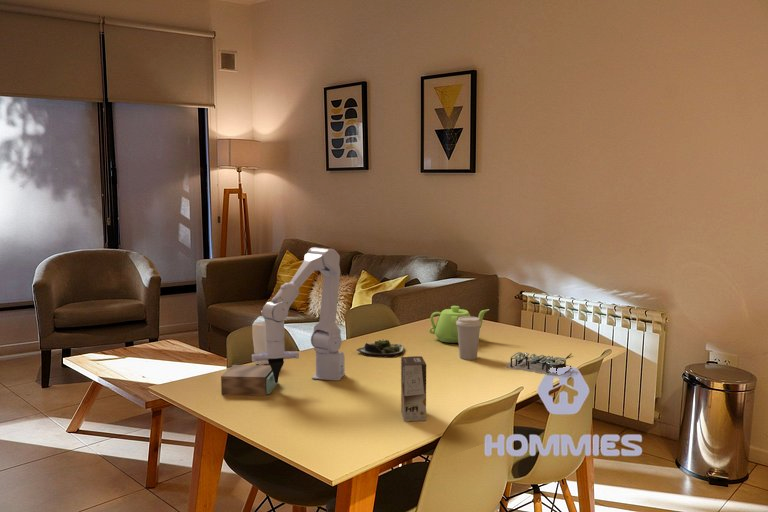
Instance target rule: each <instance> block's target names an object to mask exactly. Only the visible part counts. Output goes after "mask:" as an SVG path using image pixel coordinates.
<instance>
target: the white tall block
mask: <svg viewBox="0 0 768 512" xmlns="http://www.w3.org/2000/svg"><path fill="white" fill-rule="evenodd" d="M251 325H252V328H251V330H252V331H251V332H252V335H251V336H252V343H253V354H260V353H266V324H265V321H255V322H253V323H252V324H251ZM257 364H259V365H264V364H267V365H270V364H269V362H268V360H265V361H256V362H254V365H257Z"/></svg>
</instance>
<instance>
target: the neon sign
mask: <svg viewBox="0 0 768 512" xmlns="http://www.w3.org/2000/svg"><path fill="white" fill-rule="evenodd" d="M572 354H573V353H569V355H567V356H566V357H565V358H564V357H559V356H556V357H554V356H553V355H552V356H550V355H547V356H546V355H544V354H541V355H537V354H536V353H531V355H530V353H528V352H521V351H519V352H515V353H514V354H513V355H511V356H510V362H509V363H507V364H506V365H505V367H506V368H507V369H509V370H516V371H517V370H519V371H521V370H522V371H524V372H529V373H537V374H543V375H547V376H559V375H558V374H557V372H556V373H551V372H550V371H549V370H550V368H552V367H553V368H556V371H557V369H558V368H563V367H566V366H570V365H569V364H568V365H567V364H566V363H567V359H568V358H570V356H571V355H572Z"/></svg>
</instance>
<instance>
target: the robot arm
mask: <svg viewBox="0 0 768 512" xmlns="http://www.w3.org/2000/svg"><path fill="white" fill-rule="evenodd" d="M340 260H341V256H340V254H339V253H338V252H337V250H335V249H334V248H322V247H316V246H313V247H311V248H309V249H308V251H307V253H305V254H304V257H303V262H302V263H301V264H300V266H299V268H298V269H297V270H296V272H295V274H294V275H293V277H292V278H291V279H290V281H289V282H285V283H283V284H281V285H280V288H279V290H278V291H277V293H276V294H275V296H272V298H271V301H268V302H266V303H265V304H264V305H263V306H262V310H260V312H261V316H262V318H263V319H264V322H265V324H266V353H260V354H254V353H253V354H251V361H252V363H255V362H256V361H265V360H268V362H269V364H268V365H270V366H271V369H272V371H273V375H274V379H275V383H277V384H279V377H280V373H281V370H282V368H283V366H284V362H285V361H284V360H288V359H299V358H300V352H299V350H298V351H297V350H296V351H294V350H292V351H289V350H288V351H287V350H286V349H285V320H286V318H288V315H289V310H290V307H291V305H292V304H293V303H294V301H295V300H296V299H297V297H298V296H299V295H300V288H301V287H302V285H304V283H305V282H306V280H308V279H309V277H310V276H311V275H312V274H313V272H317V271H319V272H320V273H321V275H323V281H322V282H323V283H322V293H321V301H320V311H319V319H318V323H317V324H315V325H314V326H313V332H312V333H311V336H310V344H311V346H312V347H313V350H314V351H315V373H314V375H313V376H312V377H311V379H312V380H323V381H326V380H327V381H335V382H336V381H340V380H341V379H342V378H343V377H344V376H345V375H346V372H345V370H346V369H345V354H344V352H343V351H342V352H341V351H339V350H340V348H341V347H342V343H343V341H342V340H343V339H342V336H341V332H342V330H341V328H339V326H338V325H337V323H336V321H337V312H338V300H339V293H340V291H339V290H340V284H341V283H340V281H341V268H340V262H341V261H340Z"/></svg>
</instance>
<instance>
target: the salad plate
mask: <svg viewBox="0 0 768 512" xmlns="http://www.w3.org/2000/svg"><path fill="white" fill-rule="evenodd" d="M404 349H405V346H404V345H403V344H401V343H391V342H390V340H388V339H379V340H375V341H374V342H373V343H372V342H371V343H367V342H366V343H365V344H364V345H363V346H362V347H359V348H357V349H356V352H359V353H361V354H362V355H364V356H366V357H378V358H393V357H398V356H401V354H403V352H404Z"/></svg>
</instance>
